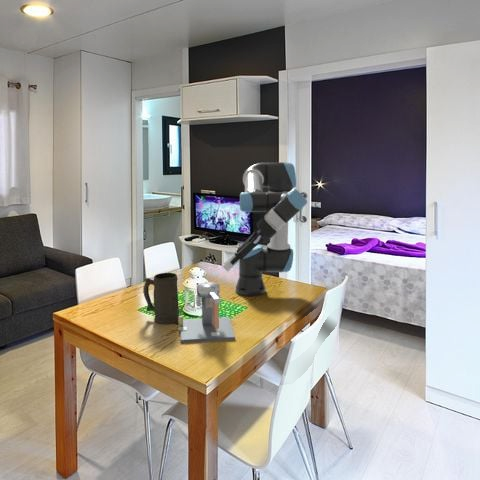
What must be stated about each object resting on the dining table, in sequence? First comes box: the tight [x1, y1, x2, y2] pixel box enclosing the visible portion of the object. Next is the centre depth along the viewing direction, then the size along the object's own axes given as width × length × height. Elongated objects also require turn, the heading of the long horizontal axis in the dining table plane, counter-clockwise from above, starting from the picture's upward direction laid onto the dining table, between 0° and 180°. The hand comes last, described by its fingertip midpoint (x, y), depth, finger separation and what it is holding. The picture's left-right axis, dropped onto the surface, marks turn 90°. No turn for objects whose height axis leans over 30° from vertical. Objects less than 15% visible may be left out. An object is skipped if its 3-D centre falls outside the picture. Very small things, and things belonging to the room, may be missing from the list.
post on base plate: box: [177, 298, 236, 344], centre depth 161 cm, size 21×20×13 cm
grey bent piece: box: [195, 281, 221, 329], centre depth 160 cm, size 18×9×13 cm, turn 18°
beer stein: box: [143, 272, 180, 325], centre depth 172 cm, size 15×10×20 cm
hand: (225, 267), depth 155 cm, fingers open, 4 cm apart
